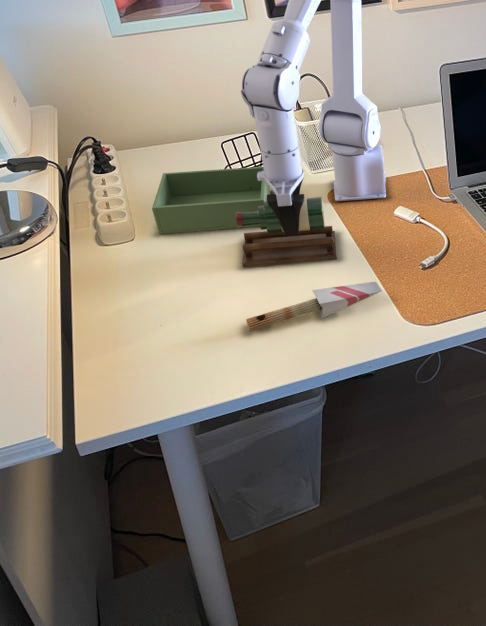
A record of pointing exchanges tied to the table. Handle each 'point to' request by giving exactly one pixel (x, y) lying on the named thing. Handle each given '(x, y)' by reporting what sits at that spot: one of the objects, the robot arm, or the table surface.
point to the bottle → (268, 219)
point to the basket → (207, 199)
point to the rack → (288, 247)
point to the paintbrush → (318, 304)
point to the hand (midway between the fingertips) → (291, 223)
